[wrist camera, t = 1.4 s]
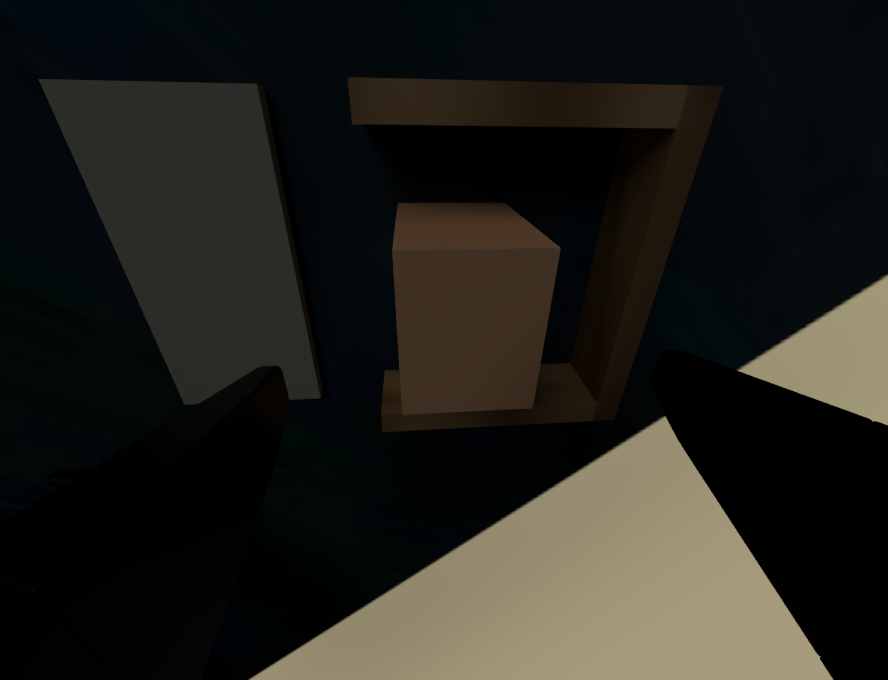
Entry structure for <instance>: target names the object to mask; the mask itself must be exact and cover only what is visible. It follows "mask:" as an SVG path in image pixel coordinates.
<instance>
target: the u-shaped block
mask: <svg viewBox="0 0 888 680" xmlns="http://www.w3.org/2000/svg"><path fill="white" fill-rule="evenodd" d="M348 86H349V96H350V106H351V116H352V124H377V125H450V126H524V127H597V128H623V129H622V133H621V138H620V142H619V147H618V151H617V156H616V160H615V164H614V169H613V173H612V178H611V182H610V187H609V191H608V196H607V200H606V205H605V209H604V214H603V218H602V222H601V227H600V231H599V236H598V240H597V245H596V249H595V254H594V258H593V263H592V267H591V272H590V276H589V281H588V285H587V289H586V294H585V298H584V303H583V307H582V312H581V316H580V321H579V325H578V330H577V334H576V339H575V343H574V348H573V352H572V356H571V361H570V363H565V364H540V369H539V375H538V381H537V386H536V392H535V398H534V403H533V408H529V409H509V410H489V411H468V412H448V413H428V414H407V415H402V401H401V385H400V370H389V371H385V376H384V387H383V398H382V409H381V418H382V429H383V432H395V431H414V430H433V429H452V428H471V427H490V426H508V425H527V424H546V423H565V422H584V421H603V420H614V419H615V416H616V413H617V410H618V407H619V404H620V401H621V397H622V394H623V391H624V388H625V385H626V382H627V379H628V376H629V373H630V370H631V367H632V364H633V361H634V358H635V355H636V352H637V349H638V346H639V343H640V340H641V337H642V334H643V331H644V327H645V324H646V321H647V318H648V315H649V312H650V309H651V306H652V303H653V300H654V297H655V294H656V291H657V288H658V285H659V282H660V279H661V276H662V273H663V270H664V267H665V264H666V260H667V257H668V254H669V251H670V248H671V245H672V242H673V239H674V236H675V233H676V230H677V227H678V224H679V221H680V218H681V215H682V212H683V209H684V206H685V203H686V200H687V197H688V194H689V190H690V187H691V184H692V181H693V178H694V175H695V172H696V169H697V166H698V163H699V160H700V157H701V154H702V151H703V148H704V145H705V142H706V139H707V136H708V133H709V130H710V127H711V123H712V120H713V117H714V114H715V111H716V108H717V105H718V102H719V99H720V96H721V93H722V90H723V87H724V86H690V85H647V84H605V83H563V82H521V81H478V80H436V79H394V78H352V77H348Z"/></svg>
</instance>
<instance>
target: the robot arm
mask: <svg viewBox="0 0 888 680" xmlns="http://www.w3.org/2000/svg"><path fill="white" fill-rule="evenodd" d="M650 386H651V389H652V391H653V393H654V395H655V397H656V399H657V401H658V402H659V404H660V406H661V408H662V410H663V412H664V414H665V416H666V418H667V420H668V422H669V424H670V426H671V427H672V430H673V431H674V433H675V435H676V437H677V439H678V440H679V442H680V443H681V445H682V447H683V448H684V450H685V451H686V453H687V455H688V456H689V458H690V459H691V461H692V462H693V464H694V466H695V467H696V469H697V470H698V471H699V473H700V475H701V476H702V478H703V479H704V481H705V482H706V484H707V485H708V487H709V489H710V490H711V492H712V493H713V495H714V496H715V498H716V499H717V501H718V502H719V504H720V505H721V507H722V508H723V510H724V512H725V513H726V515H727V516H728V518H729V519H730V521H731V522H732V524H733V525H734V527H735V528H736V530H737V532H738V533H739V535H740V536H741V537H742V539H743V541H744V542H745V544H746V545H747V547H748V548H749V550H750V552H751V553H752V555H753V556H754V557H755V559H756V561H757V562H758V564H759V565H760V567H761V568H762V570H763V572H764V573H765V575H766V576H767V578H768V579H769V581H770V582H771V584H772V585H773V587H774V588H775V590H776V591H777V593H778V595H779V596H780V598H781V599H782V601H783V602H784V604H785V605H786V607H787V608H788V610H789V611H790V613H791V615H792V616H793V618H794V619H795V621H796V622H797V624H798V625H799V627H800V628H801V630H802V631H803V633H804V635H805V636H806V638H807V639H808V641H809V642H810V644H811V645H812V647H813V648H814V650H815V651H816V653H817V654H818V655H819V656H821V657H820V660H821V661H822V663H823V664H824V666H825V667H826V669H827V670H828V672H829V673H830V675H831V677H832V678H833V680H888V425H885V424H882V423H880V422H876V421H874V422H873V421H872V420H870V419H869V418H866V417H863V416H860V415H857V414H855V413H852V412H849V411H846V410H844V409H841V408H838V407H835V406H833V405H830V404H827V403H824V402H822V401H819V400H816V399H813V398H811V397H808V396H805V395H802V394H799V393H797V392H794V391H791V390H789V389H786V388H783V387H780V386H778V385H775V384H772V383H769V382H767V381H764V380H761V379H758V378H756V377H753V376H750V375H747V374H745V373H742V372H739V371H736V370H734V369H731V368H728V367H725V366H723V365H720V364H717V363H714V362H712V361H709V360H706V359H703V358H701V357H698V356H695V355H692V354H690V353H687V352H684V351H681V350H665V351H662V352H661V353H660V354H659V355H658V358H657V360H656V363H655V366H654V368H653V371H652V374H651V377H650ZM288 404H289V395H288V391H287V387H286V383H285V379H284V375H283V372H282V369H281V368H280V367H279V366H260V367H258V368H256V369H255V370H253V371H251V372H250V373H248V374H246V375H245V376H243V377H242V378H240V379H238V380H237V381H235V382H233V383H232V384H230V385H228V386H227V387H225V388H223V389H222V390H220V391H218V392H217V393H215V394H214V395H212V396H210V397H209V398H207V399H205V400H204V401H202V402H200V403H199V404H197V405H195V406H194V407H192V408H190V409H189V410H187V411H186V412H184V413H182V414H181V415H179V416H177V417H176V418H174V419H172V420H171V421H169V422H167V423H166V424H164V425H162V426H161V427H159V428H158V429H156V430H154V431H153V432H151V433H149V434H148V435H146V436H144V437H143V438H141V439H139V440H138V441H136V442H134V443H133V444H131V445H130V446H128V447H126V448H125V449H123V450H121V451H120V452H118V453H116V454H115V455H113V456H111V457H110V458H108V459H106V460H105V461H103V462H101V463H100V464H99V465H98V468H97V467H93V468H91V469H90V470H81V471H64V472H53V473H51V474H50V475H49V476H48V477H47V478H45V479H44V480H43V483H42V484H43V486H44V487H45V488H46V490H47V491H48V492H49V493H50V494H48V495H46V496H45V497H43V498H41V499H40V500H38V501H36V502H35V503H33V504H31V505H29V506H28V507H26V508H24V509H22V510H21V511H19V512H17V513H15V514H13V515H12V516H10V517H8V518H6V519H4V520H3V521H1V522H0V680H200V678H201V676H202V673H203V670H204V667H205V664H206V661H207V658H208V656H209V653H210V650H211V647H212V644H213V641H214V638H215V636H216V633H217V630H218V627H219V624H220V621H221V618H222V616H223V613H224V610H225V607H226V604H227V601H228V598H229V596H230V593H231V590H232V587H233V584H234V581H235V578H236V576H237V573H238V570H239V567H240V564H241V561H242V558H243V556H244V553H245V550H246V547H247V544H248V541H249V538H250V536H251V533H252V530H253V527H254V524H255V521H256V518H257V516H258V513H259V510H260V507H261V504H262V501H263V498H264V496H265V493H266V490H267V487H268V484H269V481H270V479H271V476H272V473H273V469H274V466H275V463H276V459H277V455H278V450H279V446H280V441H281V437H282V432H283V428H284V423H285V418H286V414H287V409H288Z"/></svg>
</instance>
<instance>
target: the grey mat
mask: <svg viewBox="0 0 888 680" xmlns="http://www.w3.org/2000/svg"><path fill="white" fill-rule="evenodd" d="M39 81H40V83H41V86H42V88H43V90H44V92H45V94H46V97H47V99H48V101H49V103H50V106H51V108H52V110H53V112H54V115H55V117H56V119H57V121H58V123H59V126H60V128H61V130H62V132H63V135H64V137H65V139H66V141H67V143H68V146H69V148H70V150H71V152H72V155H73V157H74V159H75V161H76V164H77V166H78V168H79V170H80V172H81V175H82V177H83V179H84V181H85V184H86V186H87V188H88V190H89V193H90V195H91V197H92V199H93V201H94V204H95V206H96V208H97V210H98V213H99V215H100V217H101V219H102V221H103V224H104V226H105V228H106V230H107V233H108V235H109V237H110V239H111V242H112V244H113V246H114V248H115V250H116V253H117V255H118V257H119V259H120V262H121V264H122V266H123V268H124V271H125V273H126V275H127V277H128V279H129V282H130V284H131V286H132V288H133V291H134V293H135V295H136V297H137V299H138V302H139V304H140V306H141V308H142V311H143V313H144V315H145V317H146V320H147V322H148V324H149V326H150V328H151V331H152V333H153V335H154V337H155V340H156V342H157V344H158V346H159V349H160V351H161V353H162V355H163V357H164V360H165V362H166V364H167V366H168V369H169V371H170V373H171V375H172V377H173V380H174V382H175V384H176V386H177V389H178V391H179V393H180V395H181V398H182V400H183V402H184V404H199V403H200V402H202V401H204V400H205V399H207V398H209V397H210V396H212V395H214V394H215V393H217V392H218V391H220V390H222V389H223V388H225V387H227V386H228V385H230V384H232V383H233V382H235V381H237V380H238V379H240V378H242V377H243V376H245V375H246V374H248V373H250V372H251V371H253V370H255V369H256V368H258V367H260V366H279V367H280V368H281V369H282V372H283V375H284V379H285V383H286V387H287V391H288V395H289V400H295V399H317V398H321V396H322V392H323V387H322V382H321V377H320V371H319V366H318V361H317V356H316V351H315V346H314V341H313V336H312V331H311V326H310V320H309V315H308V310H307V305H306V300H305V295H304V290H303V285H302V280H301V274H300V269H299V264H298V259H297V254H296V249H295V244H294V239H293V234H292V229H291V223H290V218H289V213H288V208H287V203H286V198H285V193H284V188H283V183H282V178H281V172H280V167H279V162H278V157H277V152H276V147H275V142H274V137H273V132H272V126H271V121H270V116H269V111H268V106H267V101H266V96H265V91H264V86H262V85H259V84H233V83H188V82H142V81H96V80H50V79H39Z"/></svg>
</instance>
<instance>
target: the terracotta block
mask: <svg viewBox="0 0 888 680" xmlns="http://www.w3.org/2000/svg"><path fill="white" fill-rule="evenodd" d="M560 249H561V248H560V247H559V246H558V245H556V244H555V243H554V242H553V241H551V240H550V239H549V238H548V237H546V236H545V235H544V234H543V233H541V232H540V231H539V230H538V229H536V228H535V227H534V226H533V225H531V224H530V223H529V222H528V221H526V220H525V219H524V218H523V217H521V216H520V215H519V214H518V213H517V212H515V211H514V210H513V209H512V208H510V207H509V206H508V205H507V204H505V203H398V208H397V216H396V225H395V233H394V241H393V249H392V252H393V269H394V285H395V302H396V318H397V335H398V351H399V368H400V385H401V401H402V415H407V414H428V413H448V412H468V411H489V410H509V409H529V408H533V403H534V398H535V392H536V386H537V381H538V375H539V369H540V363H541V358H542V352H543V346H544V340H545V335H546V329H547V323H548V318H549V312H550V306H551V300H552V295H553V289H554V283H555V278H556V272H557V266H558V260H559V255H560Z"/></svg>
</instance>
